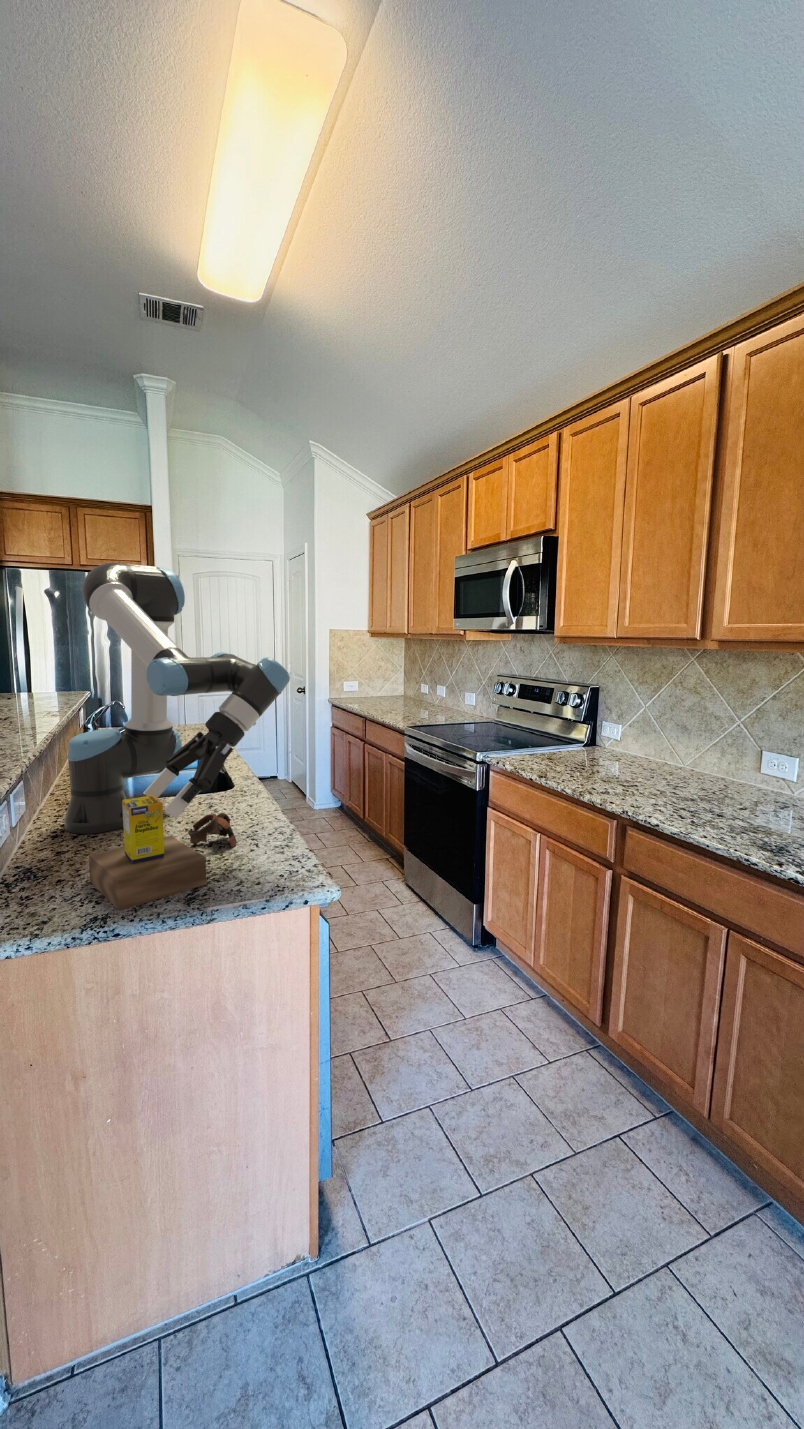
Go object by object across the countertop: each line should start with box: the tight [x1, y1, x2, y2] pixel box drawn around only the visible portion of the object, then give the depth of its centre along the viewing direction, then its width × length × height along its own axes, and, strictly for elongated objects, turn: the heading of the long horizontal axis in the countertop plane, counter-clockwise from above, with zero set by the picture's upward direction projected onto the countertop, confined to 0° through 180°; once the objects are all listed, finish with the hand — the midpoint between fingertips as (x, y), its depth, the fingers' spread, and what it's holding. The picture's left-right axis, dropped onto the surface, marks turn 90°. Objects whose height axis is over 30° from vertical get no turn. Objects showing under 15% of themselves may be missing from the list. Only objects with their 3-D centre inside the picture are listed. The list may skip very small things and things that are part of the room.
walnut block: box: [88, 835, 207, 912], centre depth 111 cm, size 16×16×6 cm
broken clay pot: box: [187, 812, 237, 849], centre depth 132 cm, size 12×10×8 cm
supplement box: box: [122, 795, 165, 864], centre depth 109 cm, size 6×6×11 cm
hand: (158, 805), depth 110 cm, fingers open, 13 cm apart
